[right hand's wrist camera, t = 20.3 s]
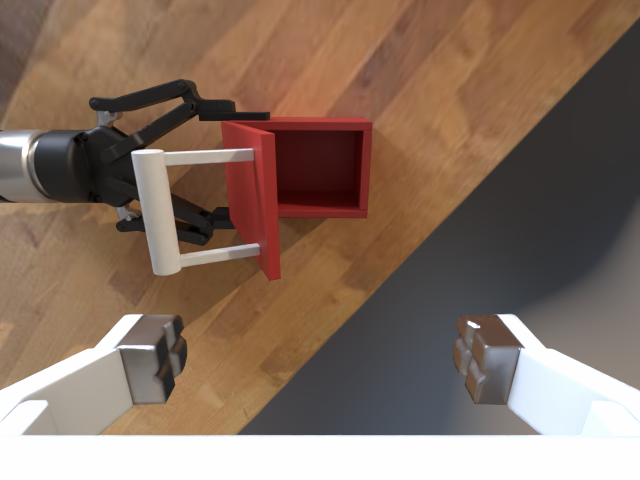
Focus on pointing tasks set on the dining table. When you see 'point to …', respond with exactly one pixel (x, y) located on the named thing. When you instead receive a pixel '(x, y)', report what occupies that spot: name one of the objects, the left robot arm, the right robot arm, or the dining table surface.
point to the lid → (243, 196)
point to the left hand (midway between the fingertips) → (270, 167)
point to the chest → (320, 165)
